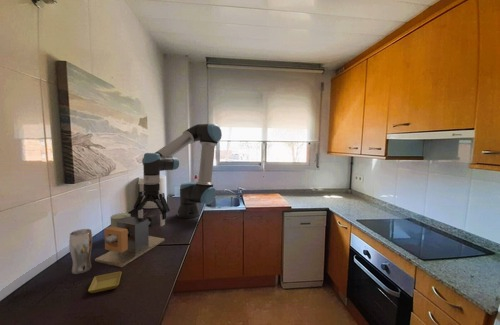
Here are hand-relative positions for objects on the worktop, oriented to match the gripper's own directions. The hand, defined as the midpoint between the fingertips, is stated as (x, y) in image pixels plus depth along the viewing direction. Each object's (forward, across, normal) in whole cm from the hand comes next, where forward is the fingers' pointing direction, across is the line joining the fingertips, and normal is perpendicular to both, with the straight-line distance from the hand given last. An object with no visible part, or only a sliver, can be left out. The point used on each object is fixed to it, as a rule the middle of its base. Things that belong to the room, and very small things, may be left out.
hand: (151, 223), depth 110 cm
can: (+9, -17, -3) cm, 19 cm away
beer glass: (+9, -6, -31) cm, 33 cm away
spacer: (+4, 0, -21) cm, 21 cm away
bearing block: (+8, 0, -12) cm, 14 cm away
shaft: (+1, 0, -11) cm, 11 cm away
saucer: (+9, +11, -35) cm, 38 cm away
